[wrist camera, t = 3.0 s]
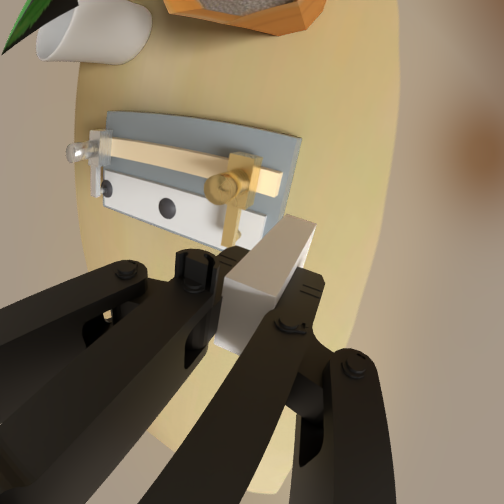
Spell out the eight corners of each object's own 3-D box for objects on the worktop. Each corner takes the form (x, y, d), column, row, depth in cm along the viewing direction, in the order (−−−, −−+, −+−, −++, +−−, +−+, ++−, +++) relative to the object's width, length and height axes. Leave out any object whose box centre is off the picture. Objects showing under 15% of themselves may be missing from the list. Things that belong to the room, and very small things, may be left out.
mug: (140, 66, 24) (60, 59, 15) (98, 64, 26) (29, 64, 16) (172, -20, 18) (104, -50, 9) (125, -12, 20) (61, -28, 10)
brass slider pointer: (241, 151, 21) (208, 157, 17) (264, 156, 21) (236, 163, 16) (226, 234, 25) (195, 259, 20) (246, 242, 25) (218, 268, 20)
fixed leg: (102, 128, 26) (66, 133, 21) (113, 129, 25) (76, 134, 21) (100, 190, 29) (67, 202, 25) (110, 194, 29) (76, 206, 24)
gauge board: (119, 110, 27) (101, 111, 25) (302, 138, 22) (294, 138, 19) (114, 201, 33) (97, 208, 30) (272, 258, 28) (262, 272, 25)
